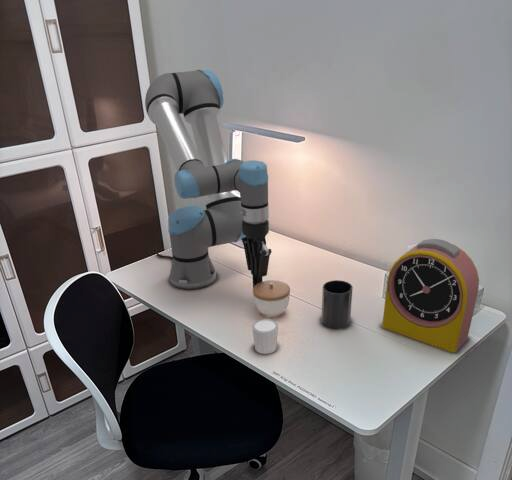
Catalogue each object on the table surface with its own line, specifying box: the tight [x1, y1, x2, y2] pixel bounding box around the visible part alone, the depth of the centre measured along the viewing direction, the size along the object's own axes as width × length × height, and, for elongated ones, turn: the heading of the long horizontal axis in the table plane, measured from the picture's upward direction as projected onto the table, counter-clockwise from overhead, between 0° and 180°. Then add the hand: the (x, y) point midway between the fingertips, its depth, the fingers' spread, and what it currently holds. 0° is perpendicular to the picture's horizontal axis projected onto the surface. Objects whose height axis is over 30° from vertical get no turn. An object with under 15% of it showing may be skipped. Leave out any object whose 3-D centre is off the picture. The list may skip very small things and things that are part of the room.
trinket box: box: [252, 279, 291, 318], centre depth 152 cm, size 11×11×9 cm
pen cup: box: [321, 279, 354, 330], centre depth 146 cm, size 8×8×11 cm
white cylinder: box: [251, 318, 279, 355], centre depth 137 cm, size 7×7×7 cm
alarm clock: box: [381, 238, 480, 353], centre depth 135 cm, size 21×9×26 cm, turn 50°
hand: (258, 294), depth 159 cm, fingers closed
